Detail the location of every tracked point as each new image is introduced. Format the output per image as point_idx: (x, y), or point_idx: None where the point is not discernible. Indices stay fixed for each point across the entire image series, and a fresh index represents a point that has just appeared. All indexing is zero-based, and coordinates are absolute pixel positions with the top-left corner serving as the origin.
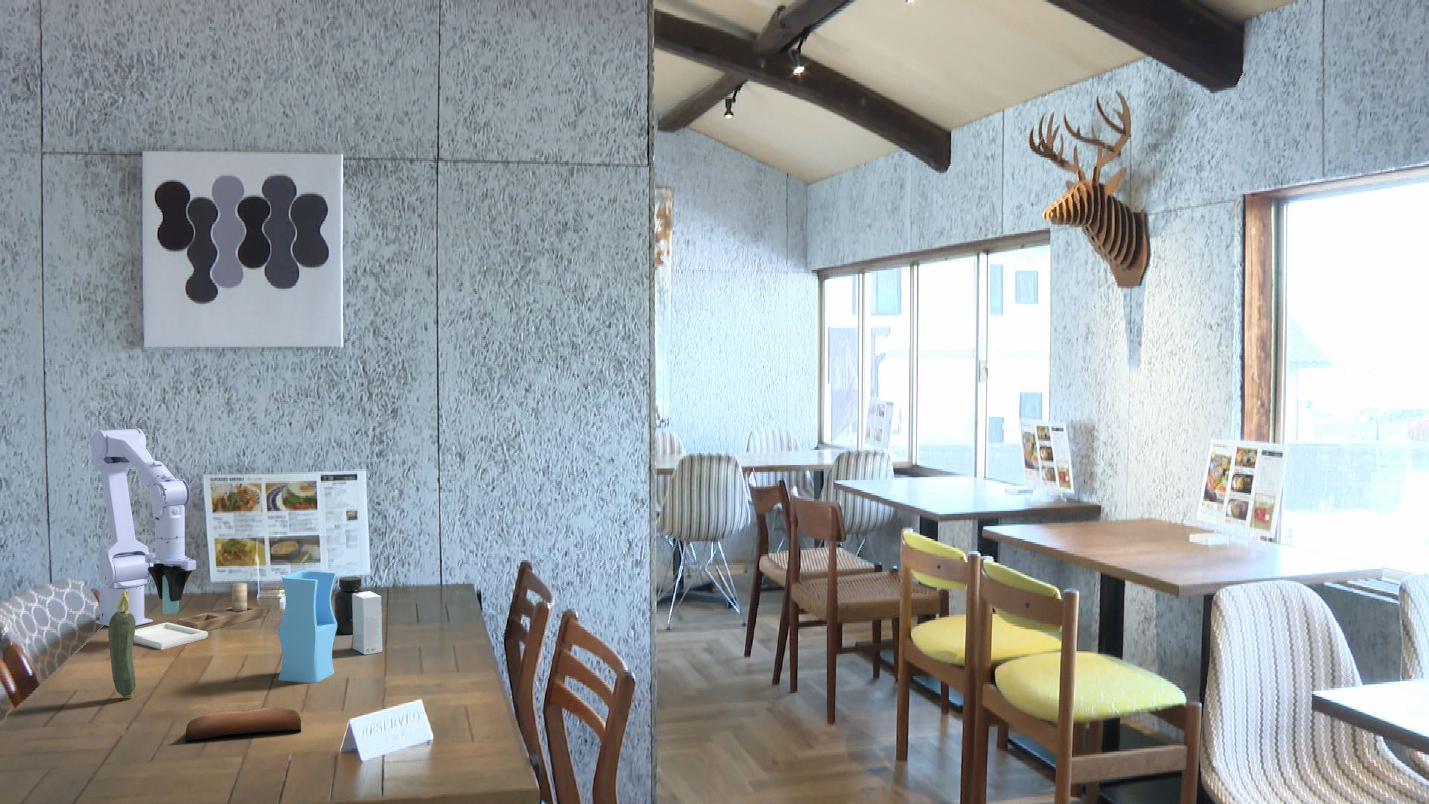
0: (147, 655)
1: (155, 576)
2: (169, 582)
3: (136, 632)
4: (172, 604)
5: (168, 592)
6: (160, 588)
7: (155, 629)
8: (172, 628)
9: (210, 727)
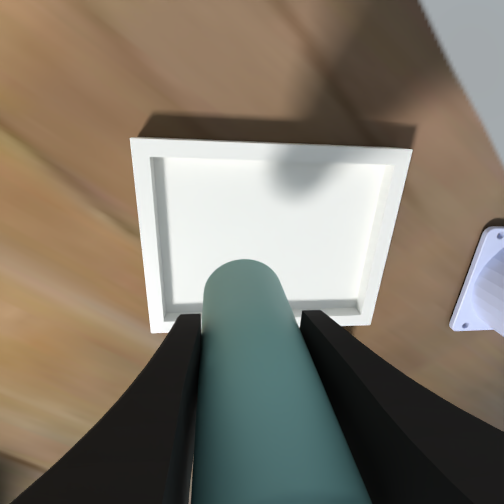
0: (95, 37)
1: (431, 446)
2: (132, 432)
3: (380, 206)
4: (204, 311)
5: (221, 352)
6: (334, 362)
7: (363, 274)
8: (324, 309)
9: None
